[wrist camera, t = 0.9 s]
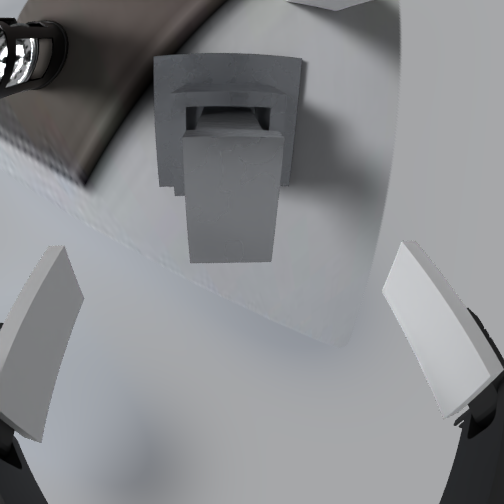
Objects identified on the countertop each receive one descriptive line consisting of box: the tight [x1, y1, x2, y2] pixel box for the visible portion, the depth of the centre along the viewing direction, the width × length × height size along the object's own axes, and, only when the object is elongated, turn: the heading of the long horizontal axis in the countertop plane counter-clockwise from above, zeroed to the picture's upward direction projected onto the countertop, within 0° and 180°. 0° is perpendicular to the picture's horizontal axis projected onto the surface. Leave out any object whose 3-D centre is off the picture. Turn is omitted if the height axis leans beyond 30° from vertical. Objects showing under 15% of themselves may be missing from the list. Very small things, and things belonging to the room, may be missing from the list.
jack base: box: [154, 53, 302, 196], centre depth 27 cm, size 16×16×12 cm
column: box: [183, 106, 285, 263], centre depth 23 cm, size 7×4×20 cm, turn 177°
